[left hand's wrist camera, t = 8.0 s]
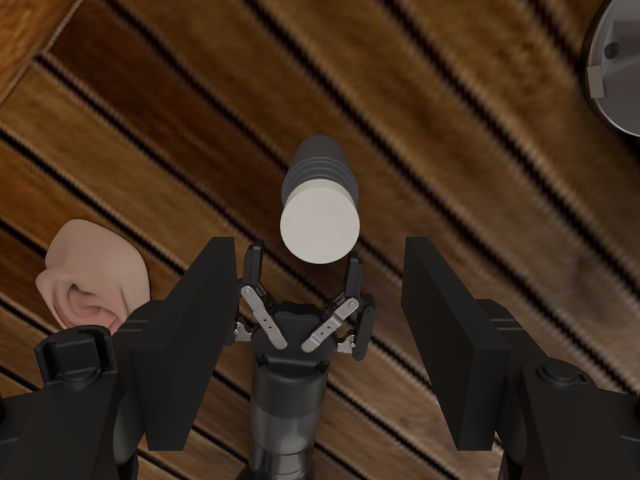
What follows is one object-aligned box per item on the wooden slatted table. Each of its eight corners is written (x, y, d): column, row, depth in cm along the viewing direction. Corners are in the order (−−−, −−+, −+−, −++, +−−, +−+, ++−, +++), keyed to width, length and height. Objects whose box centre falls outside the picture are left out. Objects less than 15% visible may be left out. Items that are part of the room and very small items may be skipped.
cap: (271, 224, 22) (265, 238, 19) (308, 164, 20) (307, 172, 18) (330, 258, 22) (331, 277, 20) (369, 203, 21) (375, 216, 19)
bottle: (285, 168, 39) (251, 239, 20) (312, 124, 38) (304, 155, 18) (327, 194, 40) (334, 286, 21) (355, 153, 39) (390, 210, 19)
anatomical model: (19, 222, 37) (143, 251, 38) (47, 210, 40) (159, 237, 41) (20, 339, 41) (130, 362, 42) (45, 318, 45) (146, 340, 46)
